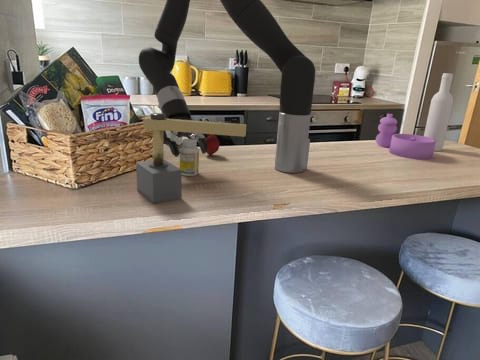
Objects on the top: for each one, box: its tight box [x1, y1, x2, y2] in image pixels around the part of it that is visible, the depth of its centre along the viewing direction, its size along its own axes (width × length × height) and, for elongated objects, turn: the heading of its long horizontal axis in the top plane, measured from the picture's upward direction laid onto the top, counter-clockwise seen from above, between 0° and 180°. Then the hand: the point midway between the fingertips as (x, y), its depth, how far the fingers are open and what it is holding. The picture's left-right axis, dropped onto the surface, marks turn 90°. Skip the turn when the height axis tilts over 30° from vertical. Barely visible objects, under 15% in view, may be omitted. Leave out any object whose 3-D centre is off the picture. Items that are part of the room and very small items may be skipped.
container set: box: [375, 113, 436, 161], centre depth 148 cm, size 25×15×13 cm, turn 24°
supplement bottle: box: [179, 138, 200, 177], centre depth 106 cm, size 5×5×10 cm
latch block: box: [135, 159, 183, 204], centre depth 90 cm, size 7×10×7 cm
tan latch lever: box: [142, 112, 247, 167], centre depth 87 cm, size 23×3×12 cm, turn 84°
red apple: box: [205, 134, 221, 156], centre depth 127 cm, size 6×6×8 cm
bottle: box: [423, 72, 454, 152], centre depth 152 cm, size 8×8×30 cm
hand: (191, 153), depth 105 cm, fingers open, 8 cm apart
